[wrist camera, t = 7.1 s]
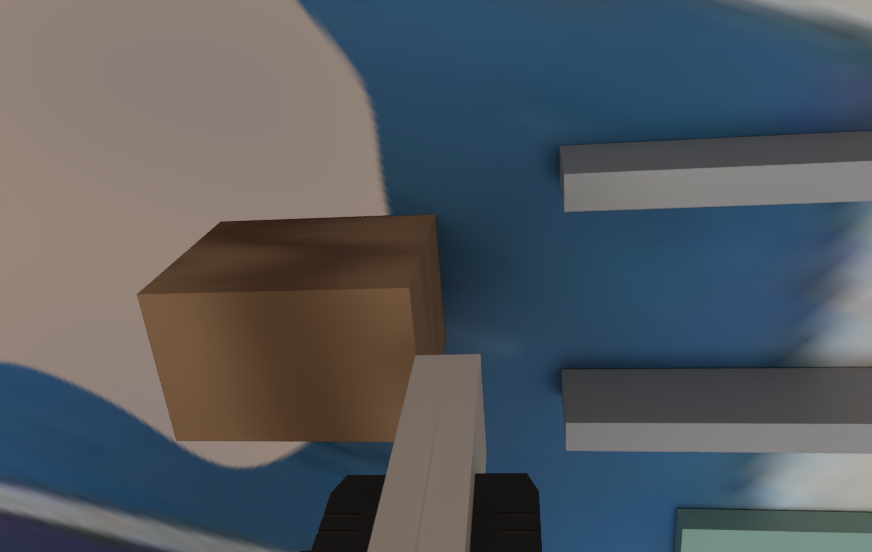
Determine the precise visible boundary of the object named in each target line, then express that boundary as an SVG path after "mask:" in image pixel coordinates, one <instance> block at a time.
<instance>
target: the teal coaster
mask: <svg viewBox="0 0 872 552" xmlns="http://www.w3.org/2000/svg"><path fill="white" fill-rule="evenodd" d="M674 552H872V512H821V511H770V510H719V509H677V518H676V532H675V546H674Z"/></svg>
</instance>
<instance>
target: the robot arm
mask: <svg viewBox="0 0 872 552" xmlns="http://www.w3.org/2000/svg"><path fill="white" fill-rule="evenodd" d="M485 471H486V437H485V421H484V405H483V388H482V372H481V356H480V354H459V355H415V359H414V363H413V367H412V371H411V375H410V380H409V384H408V388H407V392H406V396H405V400H404V404H403V408H402V412H401V416H400V420H399V424H398V428H397V433H396V437H395V441H394V445H393V449H392V453H391V457H390V461H389V465H388V469H387V473H386V475H347V476H346V477H345V478H344V479H343V480H342V482H341V483H340V484H339V485H338V486H337V487H336V488H335V489H334V490H333V491H332V492H331V494H330V497H329V500H328V503H327V506H326V509H325V512H324V517H323V518H322V521H321V524H320V527H319V532H318V534H317V535H316V538H315V541H314V544H313V547H312V550H308V551H301V552H542V543H541V524H540V505H539V491H538V489H537V488H536V486H535V485H534V483H533V482H532V480H531V479H530V477H529V476H528V474H527V473H485Z"/></svg>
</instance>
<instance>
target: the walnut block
mask: <svg viewBox="0 0 872 552" xmlns="http://www.w3.org/2000/svg"><path fill="white" fill-rule="evenodd" d="M137 296H138V300H139V304H140V308H141V311H142V315H143V319H144V322H145V326H146V330H147V334H148V337H149V341H150V344H151V348H152V352H153V356H154V360H155V363H156V367H157V371H158V374H159V378H160V382H161V385H162V389H163V393H164V397H165V400H166V404H167V407H168V411H169V415H170V419H171V422H172V426H173V430H174V434H175V437H176V441H313V442H394V441H395V437H396V433H397V428H398V424H399V420H400V416H401V412H402V408H403V404H404V400H405V396H406V392H407V388H408V384H409V380H410V375H411V371H412V367H413V363H414V359H415V355H443V354H444V349H445V344H446V338H445V326H444V314H443V302H442V290H441V278H440V266H439V254H438V241H437V229H436V217H435V215H408V216H388V215H382V216H355V217H331V218H302V219H279V220H278V219H275V220H250V221H224V222H223V221H222V222H220V223H219V224H217V225H216V226H215V227H214V228H213V229H212V230H211V231H209V232H208V233H207V234H206V235H205V236H204V237H202V238H201V239H200V240H199V241H198V242H197V243H196V244H194V245H193V246H192V247H191V248H190V249H189V250H188V251H186V252H185V253H184V254H183V255H182V256H181V257H179V258H178V259H177V260H176V261H175V262H174V263H173V264H172V265H170V266H169V267H168V268H167V269H166V270H165V271H163V272H162V273H161V274H160V275H159V276H158V277H156V278H155V279H154V280H153V281H152V282H151V283H149V284H148V285H147V286H146V287H145V288H144V289H143V290H141V291H140V292H139V293H138V294H137Z"/></svg>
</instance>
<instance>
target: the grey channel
mask: <svg viewBox="0 0 872 552" xmlns="http://www.w3.org/2000/svg"><path fill="white" fill-rule="evenodd" d="M559 158H560V185H561V192H562V199H563V206H564V212H577V211H605V210H632V209H660V208H688V207H716V206H744V205H772V204H799V203H827V202H855V201H872V131H854V132H834V133H813V134H793V135H772V136H751V137H731V138H710V139H689V140H669V141H648V142H627V143H607V144H586V145H565V146H559ZM561 370H562V405H563V418H564V431H565V444H566V451H647V452H757V453H866V454H872V368H719V369H561Z"/></svg>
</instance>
